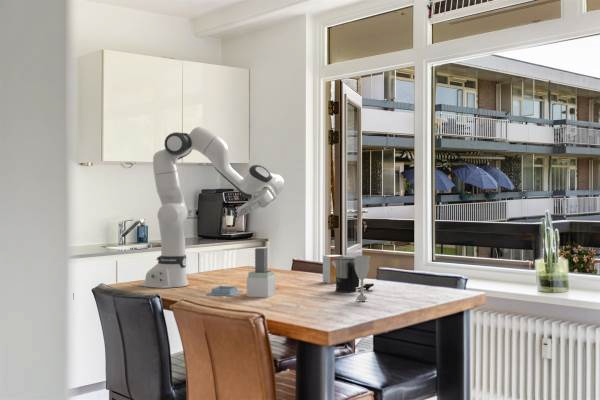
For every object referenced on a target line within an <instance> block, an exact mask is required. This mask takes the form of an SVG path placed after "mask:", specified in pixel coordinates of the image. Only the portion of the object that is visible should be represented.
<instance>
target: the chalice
mask: <svg viewBox="0 0 600 400" xmlns="http://www.w3.org/2000/svg"><path fill="white" fill-rule="evenodd" d="M353 257H354V259H355V271H356V274H357V276H358V278H359V280H360V283H359V286H360V287H361V288H360V289H359V290H360V294H358V295H357V297H356V300H359V301H365V300H368V297H367V295H366V294H365V293H364V290H365V288H363V286H364V285H365V283H364V280H365V279H366V278H367V277H368V274H369V270H370V258H371V256H370V255H354V256H353Z"/></svg>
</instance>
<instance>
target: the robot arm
mask: <svg viewBox="0 0 600 400" xmlns="http://www.w3.org/2000/svg"><path fill="white" fill-rule="evenodd" d="M163 146H164V149H161V150H158V151H157V152H155V153H154V155H153V159H152V165H153V166H152V167H153V175H154V182H155V186H156V187H155V188H156V192H157V194H158V198H159V200H160V203H161V206H160V208H159V209H158V211H157V220H158V226H159V233H160V245H161V247H160V249H161V251H160V252H161V254H160V255H159V256H157V257H156V261H157V263H156V264H155V265H154V266H153V267H152V268H151V269H149V270H148V271H147V272H146V274H145V277H144V278H145V281H143V282H141V283H140V284H139V285H140V286H139V287H148V288H149V287H150V288H159V289H169V288H181V287H186V286H189V285H190V283H189V281H188V280H189V279H188V276H187V275H188V273H187V255H186V237H185V234H184V233H185V232H184V224H183V223H184V222H186V220H187V218H188V208H187V205H186V201H185V197H184V194H183V192H182V187H181V181H180V177H179V172H178V164H177V162H178V161H179V160H181V159H182V158H183V159H184V158H185V157H187V156H188V155H190V154H191V153H192V151H193V150H194V151H196V152H197V151H198V153H200V154H201V155H203V156H205V158H207V159H208V160H209V161H210V162H211V164H212V165H213V167H214V169H215V171H217V172H218V173H219V174H220V175H221V176H222V177H223V178H224V179H225V180H227V181H228V182H229V183H230V184H231V186H233V187H234V188H235V189H236V190H237V192H239V194H240V195H241V196H242V197H243V198H245V199H248V201H246V202H245V203H243V204H242V205H241V206H239V207H238V208H237V209H236V211H235V212H236V213H237V214H236V217H237V218H238V219H239V218H242V216H246V215H247V214H249V213H251V212H253V211H255V210H257V209H259V208H261V209H262V208H266V207H267V206H268V205H269V204H270V203H271V202H273V201H274V200H276V199H277V197H278V195H280V194H281V192H283V190H284V187H285V180H284V178H283V176H281V175H280V174H278V173H272V172H270V171H269V170H268V169H267V168H265V167H264V166H262V165H259V164H254V165H251V166H250V167H249V169H248V170H247V173H245V175H244V177H243V176H242V175H240V173H238V172H237V171H236V170H235V169H234V168H233V167H232V166H231V164H230V160H229V157H230V156H229V154H230V151H229V146H228V144H227V142H226V141H225V140H224V139H223V138H221V137H220V136H218V135H217V134H215V133H214V132H212V131H211V130H209V129H206V128H204V127H201V126H197V127H194V128H193V129H192V130H191V131H190V132H189V133H187V132H180V131H179V132H172V133H169V134H168V135H167V136H166V137H165V140H164V145H163ZM249 199H250V200H249Z"/></svg>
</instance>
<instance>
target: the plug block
mask: <svg viewBox="0 0 600 400" xmlns="http://www.w3.org/2000/svg"><path fill="white" fill-rule="evenodd" d="M254 259H255V260H254V264H255V265H254V270H255V273H267V271H268V247H257V248H254Z"/></svg>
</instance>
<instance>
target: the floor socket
mask: <svg viewBox="0 0 600 400" xmlns="http://www.w3.org/2000/svg"><path fill="white" fill-rule="evenodd" d="M241 293H243V290H238V286H233V285H232V286H231V285H227V286H226V285H219V286H216V287H212V288H211V291H210V292H208V293H206V294H205V295H206V296H218V295H219V296H221V297H233V296H236V295H238V294H241Z"/></svg>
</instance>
